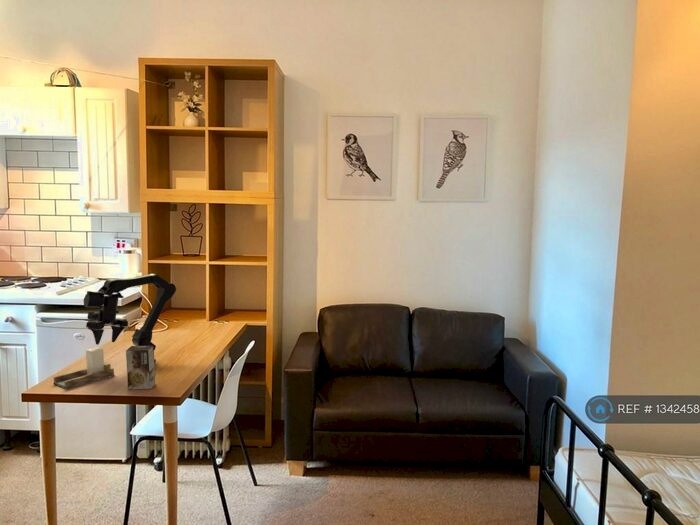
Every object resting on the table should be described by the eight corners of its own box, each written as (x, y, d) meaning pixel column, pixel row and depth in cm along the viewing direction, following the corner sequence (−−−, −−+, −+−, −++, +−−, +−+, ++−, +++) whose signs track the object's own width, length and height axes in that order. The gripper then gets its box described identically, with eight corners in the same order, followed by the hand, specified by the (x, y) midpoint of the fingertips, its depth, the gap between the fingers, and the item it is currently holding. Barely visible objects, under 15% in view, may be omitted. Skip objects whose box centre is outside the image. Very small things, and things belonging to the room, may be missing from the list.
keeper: (98, 371, 219) (97, 347, 218) (104, 373, 217) (103, 348, 216) (87, 374, 215) (85, 349, 214) (92, 376, 213) (91, 351, 212)
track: (101, 371, 223) (100, 360, 223) (114, 375, 218) (113, 364, 217) (53, 384, 207) (53, 372, 206) (66, 389, 201) (65, 376, 201)
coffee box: (155, 383, 208) (154, 345, 206) (150, 389, 202) (148, 349, 200) (133, 383, 208) (131, 345, 206) (126, 389, 202) (125, 349, 200)
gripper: (110, 304, 233) (106, 338, 233) (78, 305, 215) (73, 342, 215) (130, 307, 230) (126, 342, 230) (99, 309, 212) (94, 347, 212)
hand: (105, 343), depth 222 cm, fingers open, 9 cm apart
